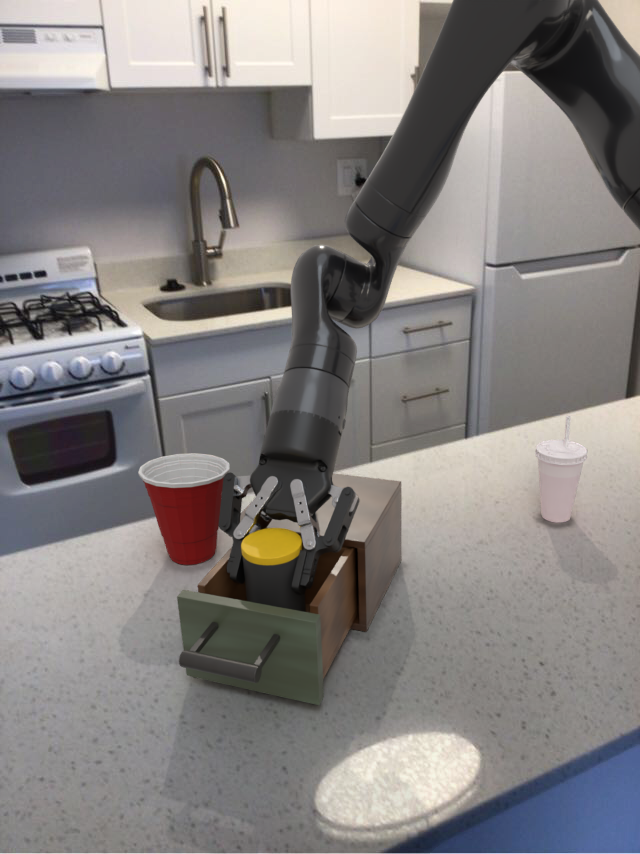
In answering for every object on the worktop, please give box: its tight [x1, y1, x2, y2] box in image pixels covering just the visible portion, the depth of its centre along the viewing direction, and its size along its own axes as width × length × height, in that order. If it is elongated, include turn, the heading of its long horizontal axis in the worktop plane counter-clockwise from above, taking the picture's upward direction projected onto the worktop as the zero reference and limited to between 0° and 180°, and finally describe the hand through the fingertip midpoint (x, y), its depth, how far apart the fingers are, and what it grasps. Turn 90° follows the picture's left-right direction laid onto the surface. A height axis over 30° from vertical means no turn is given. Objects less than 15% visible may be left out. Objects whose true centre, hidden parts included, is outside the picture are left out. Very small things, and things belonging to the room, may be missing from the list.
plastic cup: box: [137, 452, 230, 566], centre depth 92 cm, size 11×11×12 cm
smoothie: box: [534, 415, 588, 524], centre depth 97 cm, size 6×6×14 cm
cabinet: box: [240, 472, 402, 633], centre depth 85 cm, size 15×15×11 cm
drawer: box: [176, 541, 357, 706], centre depth 71 cm, size 19×13×9 cm
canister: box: [241, 528, 306, 612], centre depth 72 cm, size 6×6×8 cm
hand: (267, 586), depth 70 cm, fingers closed on canister, 5 cm apart
